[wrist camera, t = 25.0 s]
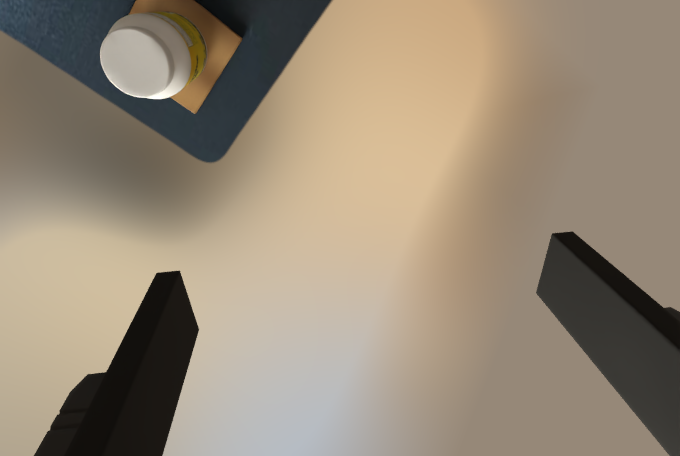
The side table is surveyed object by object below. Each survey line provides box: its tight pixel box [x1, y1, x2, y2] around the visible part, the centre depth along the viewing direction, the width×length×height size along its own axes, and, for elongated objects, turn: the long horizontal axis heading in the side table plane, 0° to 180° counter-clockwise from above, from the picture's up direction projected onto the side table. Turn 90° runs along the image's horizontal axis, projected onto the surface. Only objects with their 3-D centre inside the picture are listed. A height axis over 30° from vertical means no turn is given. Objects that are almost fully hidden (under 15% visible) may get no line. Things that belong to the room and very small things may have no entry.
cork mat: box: [129, 0, 242, 114], centre depth 37 cm, size 9×9×1 cm
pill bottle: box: [100, 11, 207, 99], centre depth 32 cm, size 6×6×11 cm
